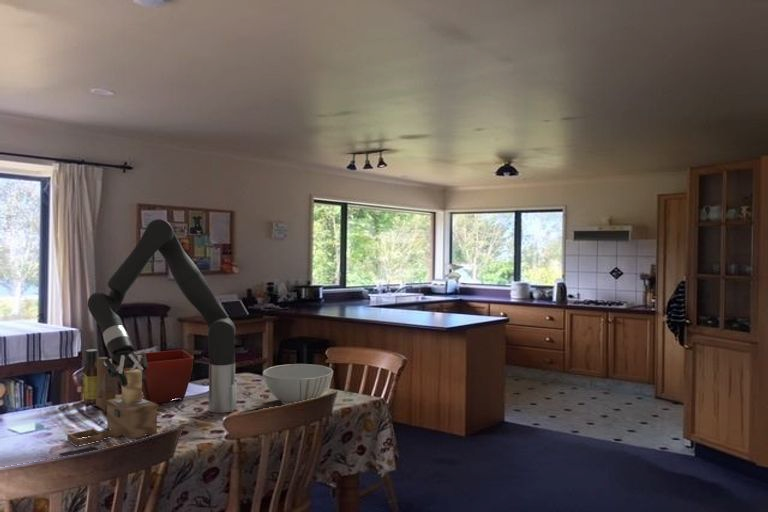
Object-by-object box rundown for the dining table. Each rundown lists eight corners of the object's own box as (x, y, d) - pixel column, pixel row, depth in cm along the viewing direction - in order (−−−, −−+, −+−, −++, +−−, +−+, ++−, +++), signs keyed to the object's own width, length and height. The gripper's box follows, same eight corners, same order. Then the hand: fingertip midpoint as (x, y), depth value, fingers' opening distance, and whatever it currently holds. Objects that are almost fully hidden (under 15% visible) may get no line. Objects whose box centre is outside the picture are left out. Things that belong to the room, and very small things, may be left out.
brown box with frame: (134, 421, 209) (134, 394, 209) (158, 432, 198) (158, 403, 197) (62, 437, 192) (61, 407, 191) (83, 450, 180) (83, 418, 180)
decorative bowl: (322, 414, 221) (322, 380, 220) (251, 409, 225) (251, 377, 225) (340, 395, 247) (340, 365, 247) (276, 391, 251) (276, 362, 251)
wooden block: (105, 412, 220) (105, 362, 219) (95, 405, 228) (95, 357, 227) (115, 410, 222) (115, 360, 222) (105, 403, 230) (105, 356, 230)
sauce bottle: (86, 399, 236) (86, 348, 236) (103, 399, 237) (103, 348, 236) (79, 404, 230) (79, 351, 229) (97, 403, 230) (97, 351, 230)
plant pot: (141, 407, 226) (141, 362, 225) (133, 396, 242) (133, 353, 242) (194, 401, 236) (194, 357, 235) (182, 390, 252) (183, 349, 251)
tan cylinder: (135, 398, 203) (135, 368, 202) (141, 401, 200) (141, 370, 199) (121, 401, 199) (121, 370, 199) (127, 404, 196) (127, 373, 196)
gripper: (99, 337, 198) (115, 380, 191) (142, 332, 209) (159, 373, 201) (92, 351, 202) (108, 394, 195) (135, 346, 213) (151, 386, 205)
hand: (134, 383), depth 198 cm, fingers open, 5 cm apart
